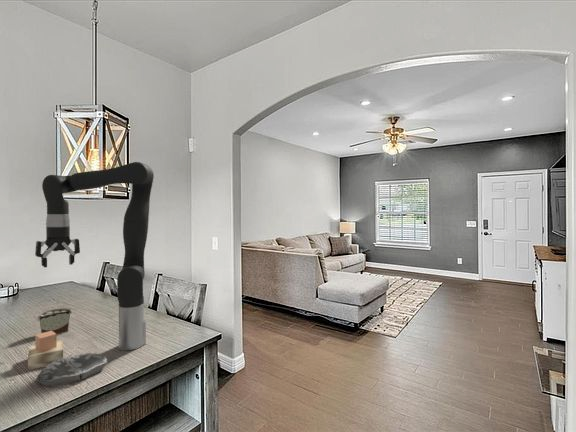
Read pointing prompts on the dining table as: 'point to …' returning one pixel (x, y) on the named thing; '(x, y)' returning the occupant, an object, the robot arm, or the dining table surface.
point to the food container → (55, 320)
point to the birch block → (44, 356)
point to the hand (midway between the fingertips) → (58, 265)
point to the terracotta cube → (45, 341)
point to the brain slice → (72, 369)
